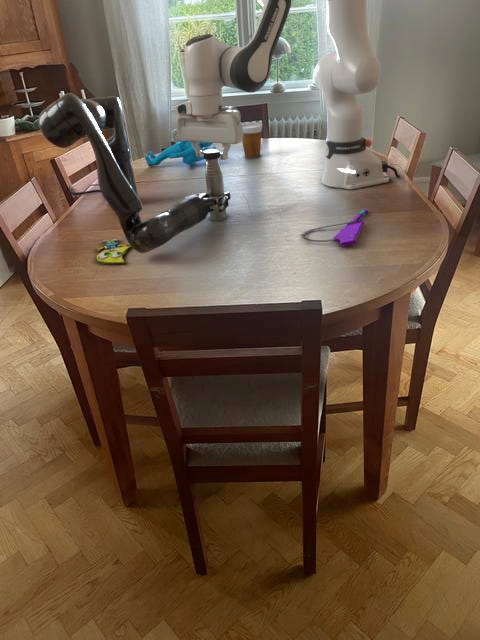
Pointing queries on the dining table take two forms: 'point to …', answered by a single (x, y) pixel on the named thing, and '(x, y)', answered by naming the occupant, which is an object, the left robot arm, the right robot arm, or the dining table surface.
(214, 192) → the bottle
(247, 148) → the beer glass
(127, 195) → the left robot arm
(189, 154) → the toy
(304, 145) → the dining table surface
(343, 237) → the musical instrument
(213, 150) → the cap
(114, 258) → the toy
